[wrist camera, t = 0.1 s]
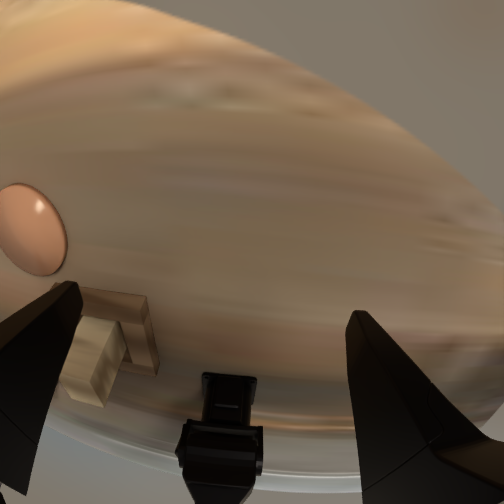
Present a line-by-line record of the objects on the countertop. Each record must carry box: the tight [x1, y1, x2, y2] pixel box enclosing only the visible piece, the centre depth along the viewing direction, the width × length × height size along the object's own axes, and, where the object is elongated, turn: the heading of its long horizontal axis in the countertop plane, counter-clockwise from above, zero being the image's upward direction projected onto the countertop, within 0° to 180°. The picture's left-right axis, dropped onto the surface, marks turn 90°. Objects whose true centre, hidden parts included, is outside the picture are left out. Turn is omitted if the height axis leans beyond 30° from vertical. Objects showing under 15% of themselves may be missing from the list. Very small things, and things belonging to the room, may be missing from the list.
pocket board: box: [50, 283, 160, 377], centre depth 31 cm, size 11×11×2 cm
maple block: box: [59, 315, 127, 408], centre depth 28 cm, size 5×4×9 cm
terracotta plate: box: [0, 183, 68, 276], centre depth 25 cm, size 10×10×1 cm
